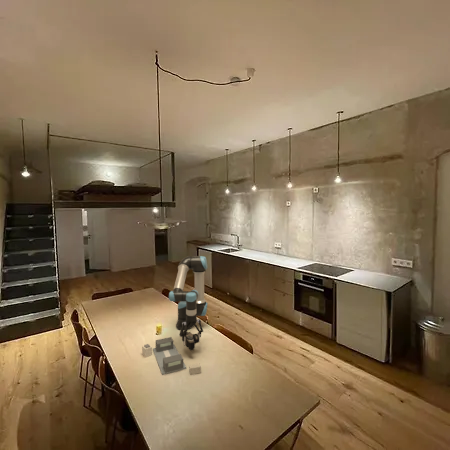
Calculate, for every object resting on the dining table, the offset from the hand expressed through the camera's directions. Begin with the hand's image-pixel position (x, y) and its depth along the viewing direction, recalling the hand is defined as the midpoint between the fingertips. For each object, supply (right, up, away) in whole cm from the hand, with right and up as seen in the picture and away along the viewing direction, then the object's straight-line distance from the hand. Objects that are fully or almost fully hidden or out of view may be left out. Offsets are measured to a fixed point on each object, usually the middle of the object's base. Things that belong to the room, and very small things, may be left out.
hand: (191, 343), depth 195 cm
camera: (0, -1, 0) cm, 1 cm away
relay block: (-32, -7, -2) cm, 33 cm away
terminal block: (+5, -9, -23) cm, 25 cm away
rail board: (-15, -8, -7) cm, 19 cm away
